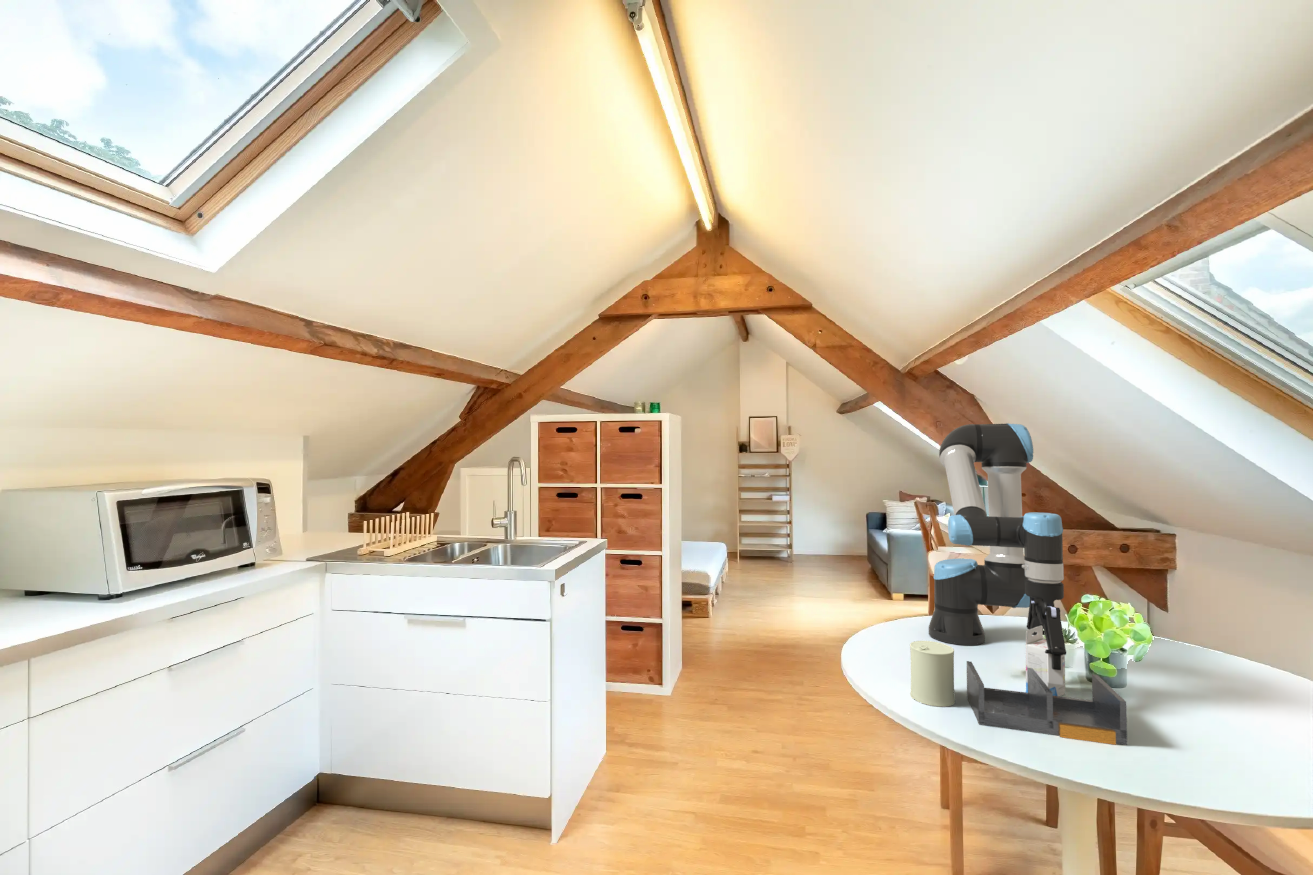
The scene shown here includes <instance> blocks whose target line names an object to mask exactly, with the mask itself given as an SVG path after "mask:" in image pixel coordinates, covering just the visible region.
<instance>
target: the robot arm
mask: <svg viewBox="0 0 1313 875" xmlns="http://www.w3.org/2000/svg"><path fill="white" fill-rule="evenodd" d="M938 454H939V462H940V464H941V465H942V467H943V468H944V469H945V473H946V477H947V484H948V489H949V494H950V499H951V500H950V501H951V504H952V510H953V515H950V516H949V517H948V520H947V522H948V523H947V531H948V539H949V541H950V542H951V543H952V544H953V545H959V546H960V545H961V546H968V547H969V546H974V547H975V546H976V547H977V546H978V547H982V546H983V547H989V554H988V555H987V556H985V557H984V561H983V562H984V564H978V561H977V560H976V559H973V558H949V559H942V560H939V561H937V562H936V563H935V565H934V569H933V570H934V571H933V573H934V574H933V580H934V593H933V594H934V610H933V613H932V616H931V618H930V621H929V624H928V635H929V636H930V638H932V639H934V640H937V641H940V642H943V643H948V644H953V645H960V646H979V645H983V644H985V642H986V633H985V631H984V628H983V624H982V622H981V619H980V617H979V614H978V612H979V611H978V609H979V608H978V607H979V605H980V606H992V607H993V606H994V607H1006V608H1013V609H1016V608H1020V609H1021V608H1022V609H1025V608H1026V609H1028V614H1027V623H1026V628H1027V630H1030V629H1032V628H1035V627H1038V626H1041V625H1042V626H1043V638H1044V639H1046V641H1047V646H1048V650H1046V651H1045V653H1046V654H1047V679H1048V683H1051V684H1060V685H1063V660H1062V655H1065V656H1066V655H1067V650H1066V649H1067V648H1066V644H1065V638H1064V632H1063V626H1062V618H1061V608H1060V607H1056V606H1055V601H1060V600H1063V599H1064V597H1065V593H1064V592H1065V591H1064V590H1065V589H1064V586H1065V585H1064V583H1063V582H1062V581H1064V579H1065V577H1064V576H1065V575H1064V574H1065V573H1064V569H1065V568H1064V560H1063V559H1064V554H1063V553H1064V550H1063V546H1064V545H1063V533H1064V527H1063V523H1062V522H1063V521H1062V517H1061V515H1059V514H1057V513H1052V512H1026V513H1024V515H1023V504H1022V503H1023V498H1022V497H1023V496H1022V473H1023V472H1024V471H1026V470H1027V466H1028V465H1027V464H1029V463H1031V462H1033V460H1034V445H1033V439H1032V437H1031V434H1030V432H1029V430H1028V428H1027V427H1026V426H1025V425H1023V424H1020V423H1009V422H1008V423H1007V422H1006V423H987V424H985V423H981V424H977V423H975V424H973V423H972V424H969V423H968V424H963V425H960V426H959V427H957V428H955V429H953V430H952V431H950V432H949V433H948V434H947V435H946V436H945V437H944V439H943V440H942V442H941V444H940V447H939V452H938ZM975 463H981V469H982V471H984V472H985V473H986V474H987V493H988V494H987V497H988V498H987V499H988V514H987V509H986V507H985V506H986V505H985V503H984V498H983V494H982V489H981V486H980V483H979V479H978V475H977V471H976V466H975ZM1034 635H1037V632H1034V633H1033V634H1032V636H1034ZM1044 636H1045V637H1044ZM1055 647H1057V648H1055Z"/></svg>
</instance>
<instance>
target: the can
mask: <svg viewBox="0 0 1313 875" xmlns="http://www.w3.org/2000/svg"><path fill="white" fill-rule="evenodd" d="M909 646H910V647H909V648H910V693H909V694H910V697H911V698H912V699H913V700H914V699H915V700H914V701H915V702H918V703H920V702H921V703H920V704H923V705H926V706H930V707H931V706H932V707H937V708H938V707H939V708H945V707H951V706H953V705H955V703H956V698H955V669H954V668H955V665H954V664H955V649H954V648H953V647H952V646H950V645H948V644H946V643H942V642H937V641H930V640H916V641H912V642H911V643H910V644H909Z"/></svg>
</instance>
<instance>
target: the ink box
mask: <svg viewBox="0 0 1313 875" xmlns="http://www.w3.org/2000/svg"><path fill="white" fill-rule="evenodd" d="M1043 630H1044V629H1043V626H1042V625H1041V626H1038V627H1035V628H1032V629H1030V630H1029V629H1027V630H1026V632H1025V692H1026V693H1028V679H1027V668H1033V669H1034V671H1035V672H1036V673H1037V674H1038V676H1039V677H1040V678H1041V679H1042V680H1043V682H1044V683H1045V684H1046V685H1047V687H1048V688H1049V689H1050V690H1051V692H1052V693H1053V696H1060V697H1063V695H1066V666H1065V665H1066V663H1065V662H1066V657H1065V656H1066V655H1062V660H1063V685H1060V684H1051V683H1048V679H1047V654H1046V653H1045V651H1046V650H1048V646H1047V641H1046V638H1045V637H1044V635H1043ZM1034 632H1037V635H1034V636H1032V634H1033V633H1034ZM1043 637H1044V638H1043ZM1055 648H1057V647H1055Z"/></svg>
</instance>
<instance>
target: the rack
mask: <svg viewBox="0 0 1313 875" xmlns="http://www.w3.org/2000/svg"><path fill="white" fill-rule="evenodd" d="M976 669H977V668H976V667H975V665H974V663H973V662H972V661H969V660H966V698H967V700H968V702H969V706H971V710H972V712H973V714H974V717H975V719H976V720H977V723H978V725H980V726H986V727H993V728H1000V729H1007V730H1016V731H1022V732H1023V731H1024V732H1030V733H1035V734H1037V733H1038V734H1043V735H1044V734H1045V735H1051V736H1059V737H1060V738H1065V739H1071V740H1078V741H1083V742H1084V741H1085V742H1093V743H1098V744H1099V743H1100V744H1106V745H1112V746H1113V745H1115V746H1116V745H1123V746H1128V725H1127V723H1128V721H1127V700H1125V699H1124V698H1123V697H1122V696H1121V695H1120V694H1119V693H1118V692H1117V691H1116V690H1114V689H1113V688H1112V687H1111V686H1110V685H1109V684H1108V683H1107V682H1106V681H1105V680H1103V679H1102V677H1100V676H1099V674H1091V690H1092V691H1091V692H1092V695H1091V696H1092V698H1091V699H1092V700H1090V699H1082V698H1075V697H1074V698H1073V697H1067V696H1053V693H1052V692H1051V690H1050V689H1049V688H1048V687H1047V685H1046V684H1045V683H1044V682H1043V680H1042V679H1041V678H1040V677H1039V676H1038V674H1037V673H1036V672H1035V671H1034V669H1033V668H1027V679H1028V693H1026V691H1025V692H1024V691H1017V690H1016V691H1015V690H1008V689H1001V688H1000V689H999V688H992V687H985V684H984V682H983V680H982V678H981V677H980V674H979V673H978V671H977V670H976Z"/></svg>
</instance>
